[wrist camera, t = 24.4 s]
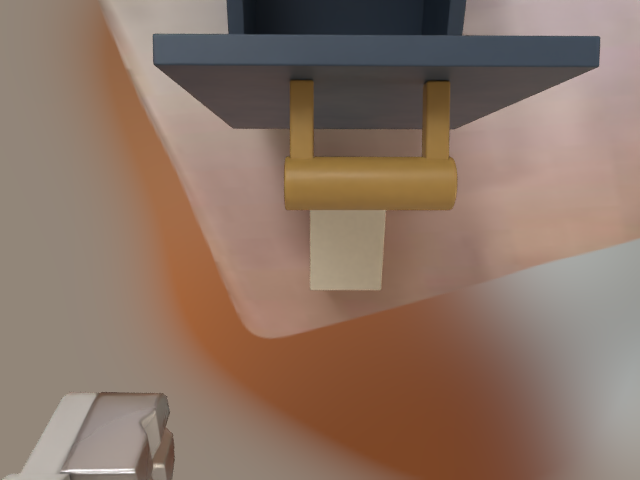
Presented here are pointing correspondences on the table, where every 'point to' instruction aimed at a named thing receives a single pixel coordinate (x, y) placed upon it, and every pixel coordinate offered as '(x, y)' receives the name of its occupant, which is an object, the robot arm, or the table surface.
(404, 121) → the lid
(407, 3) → the chest
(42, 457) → the robot arm
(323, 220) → the cream box
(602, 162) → the table surface
